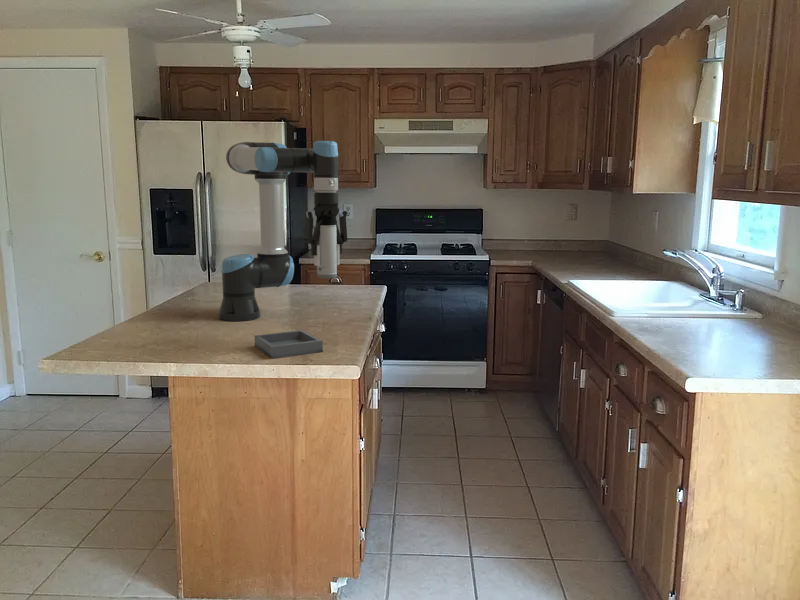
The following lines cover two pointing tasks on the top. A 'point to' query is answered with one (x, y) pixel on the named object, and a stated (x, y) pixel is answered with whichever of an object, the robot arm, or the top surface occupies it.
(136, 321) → the top surface
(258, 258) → the robot arm
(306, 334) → the tray
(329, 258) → the travel mug
